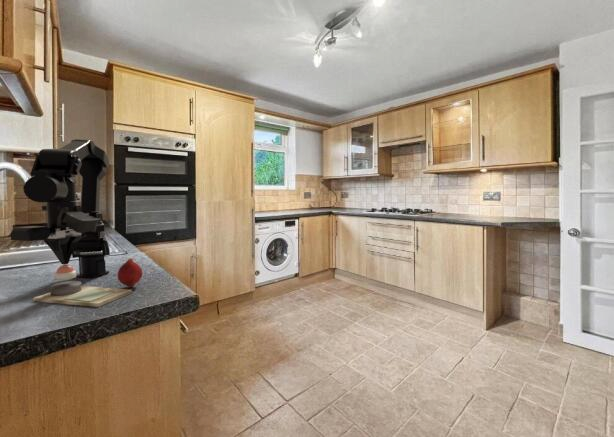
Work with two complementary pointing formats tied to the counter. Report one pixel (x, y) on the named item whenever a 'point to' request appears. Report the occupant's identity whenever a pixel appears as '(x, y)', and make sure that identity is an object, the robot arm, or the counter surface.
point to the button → (65, 273)
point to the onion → (129, 273)
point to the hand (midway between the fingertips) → (65, 264)
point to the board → (81, 294)
